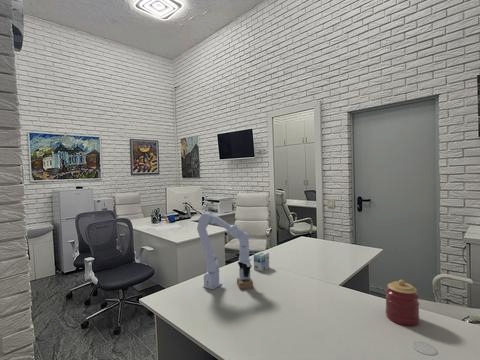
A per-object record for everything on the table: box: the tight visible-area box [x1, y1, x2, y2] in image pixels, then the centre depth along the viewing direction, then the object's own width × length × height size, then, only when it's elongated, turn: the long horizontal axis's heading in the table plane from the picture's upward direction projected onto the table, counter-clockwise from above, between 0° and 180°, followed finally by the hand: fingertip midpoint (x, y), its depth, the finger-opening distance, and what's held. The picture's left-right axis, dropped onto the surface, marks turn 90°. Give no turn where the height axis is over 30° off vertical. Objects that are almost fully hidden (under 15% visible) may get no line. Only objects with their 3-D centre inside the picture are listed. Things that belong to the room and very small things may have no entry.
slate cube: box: [238, 267, 251, 280], centre depth 158 cm, size 5×5×5 cm
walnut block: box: [236, 277, 254, 290], centre depth 158 cm, size 8×8×4 cm
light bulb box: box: [253, 250, 270, 272], centre depth 187 cm, size 11×7×11 cm, turn 143°
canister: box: [385, 279, 420, 327], centre depth 119 cm, size 13×13×18 cm
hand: (244, 275), depth 158 cm, fingers closed on slate cube, 5 cm apart
